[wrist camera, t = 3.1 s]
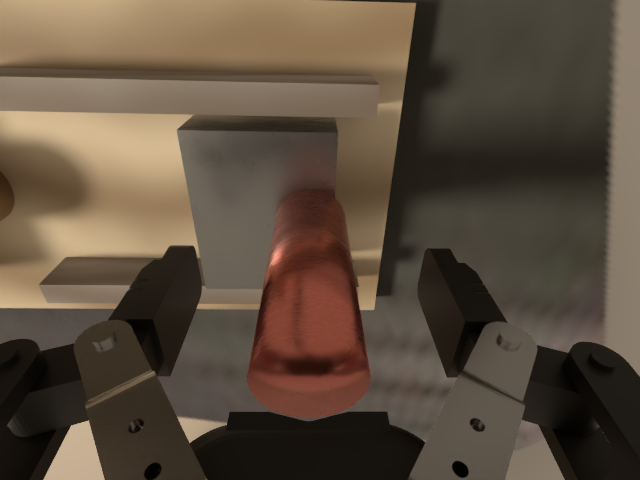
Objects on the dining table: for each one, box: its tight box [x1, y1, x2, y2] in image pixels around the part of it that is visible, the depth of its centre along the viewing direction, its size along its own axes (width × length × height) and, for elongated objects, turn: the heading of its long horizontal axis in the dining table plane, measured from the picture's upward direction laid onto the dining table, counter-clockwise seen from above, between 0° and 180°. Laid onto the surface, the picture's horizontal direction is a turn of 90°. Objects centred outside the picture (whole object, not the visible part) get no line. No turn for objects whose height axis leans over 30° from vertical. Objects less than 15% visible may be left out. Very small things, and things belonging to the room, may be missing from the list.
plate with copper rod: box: [177, 115, 370, 417], centre depth 14 cm, size 8×6×11 cm
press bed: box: [0, 0, 416, 310], centre depth 16 cm, size 16×28×6 cm, turn 89°
